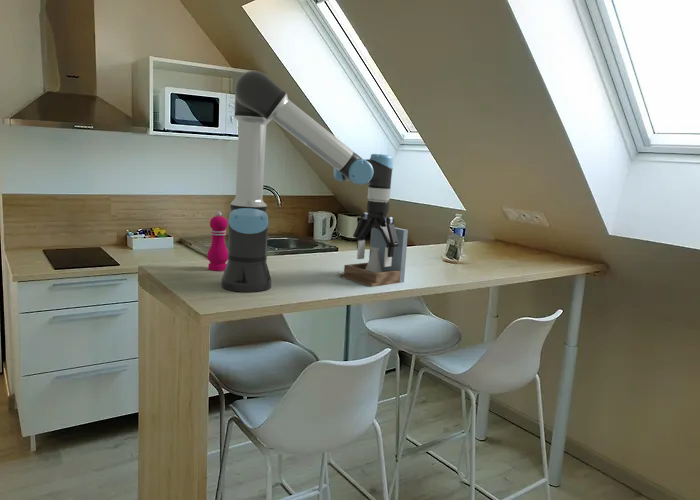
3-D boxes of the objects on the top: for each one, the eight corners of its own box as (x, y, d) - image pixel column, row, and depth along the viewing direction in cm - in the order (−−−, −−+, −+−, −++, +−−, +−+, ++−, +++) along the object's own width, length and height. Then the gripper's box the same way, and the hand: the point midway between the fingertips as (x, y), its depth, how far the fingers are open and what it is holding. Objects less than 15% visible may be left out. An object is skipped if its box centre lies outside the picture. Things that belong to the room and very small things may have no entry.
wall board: (399, 282, 197) (403, 230, 194) (368, 273, 209) (371, 223, 206) (403, 282, 199) (408, 229, 196) (372, 272, 211) (375, 223, 208)
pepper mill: (202, 268, 201) (204, 210, 197) (220, 266, 206) (222, 210, 203) (214, 272, 196) (215, 213, 193) (232, 270, 201) (234, 212, 198)
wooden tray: (371, 286, 189) (372, 274, 188) (340, 276, 201) (341, 265, 200) (399, 282, 197) (400, 271, 197) (368, 273, 209) (368, 262, 209)
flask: (367, 273, 205) (368, 245, 203) (386, 276, 202) (388, 247, 200) (359, 276, 198) (361, 247, 196) (379, 279, 195) (381, 250, 194)
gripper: (413, 204, 189) (407, 268, 192) (362, 196, 207) (357, 255, 211) (396, 204, 184) (391, 270, 187) (346, 196, 202) (342, 256, 206)
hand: (373, 262), depth 199 cm, fingers open, 13 cm apart
